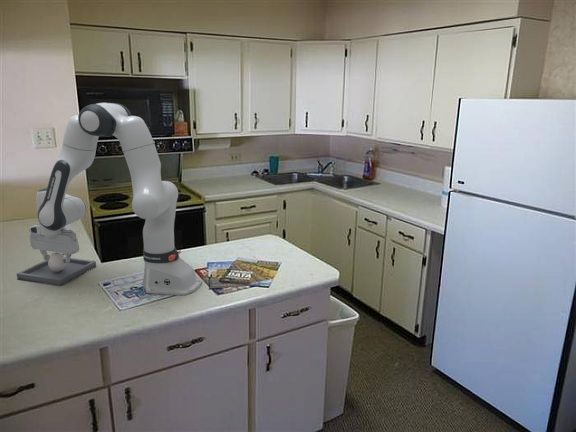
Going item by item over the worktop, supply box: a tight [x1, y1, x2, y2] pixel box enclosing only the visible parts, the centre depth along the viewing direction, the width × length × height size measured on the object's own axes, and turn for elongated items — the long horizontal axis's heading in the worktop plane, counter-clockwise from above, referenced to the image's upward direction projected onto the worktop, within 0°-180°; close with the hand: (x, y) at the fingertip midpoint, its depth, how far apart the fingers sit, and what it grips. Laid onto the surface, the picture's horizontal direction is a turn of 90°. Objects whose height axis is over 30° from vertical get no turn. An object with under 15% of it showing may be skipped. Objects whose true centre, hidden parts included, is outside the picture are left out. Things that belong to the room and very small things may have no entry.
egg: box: [48, 252, 66, 272], centre depth 175 cm, size 6×6×8 cm
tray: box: [16, 256, 97, 287], centre depth 176 cm, size 20×20×2 cm
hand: (56, 261), depth 175 cm, fingers open, 8 cm apart
